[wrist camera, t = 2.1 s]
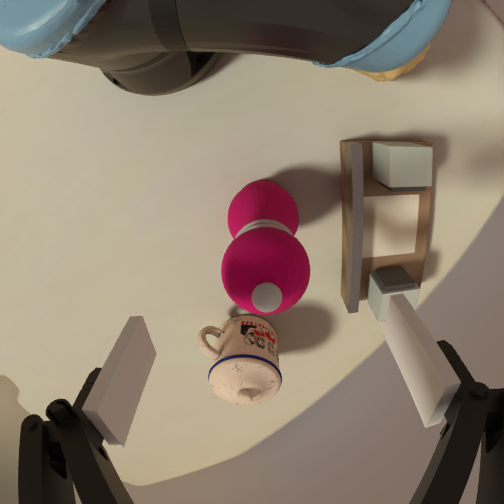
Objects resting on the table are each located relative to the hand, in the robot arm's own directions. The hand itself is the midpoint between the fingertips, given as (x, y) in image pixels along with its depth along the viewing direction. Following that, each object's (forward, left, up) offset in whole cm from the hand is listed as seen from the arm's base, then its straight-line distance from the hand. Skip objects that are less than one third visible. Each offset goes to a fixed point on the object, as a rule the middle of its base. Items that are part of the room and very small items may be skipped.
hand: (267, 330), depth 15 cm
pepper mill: (0, 0, -22) cm, 22 cm away
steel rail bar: (+3, +10, -20) cm, 22 cm away
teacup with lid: (+18, -5, -22) cm, 29 cm away
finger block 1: (-5, +15, -20) cm, 25 cm away
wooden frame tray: (+3, +15, -22) cm, 27 cm away
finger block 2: (+10, +15, -20) cm, 27 cm away
